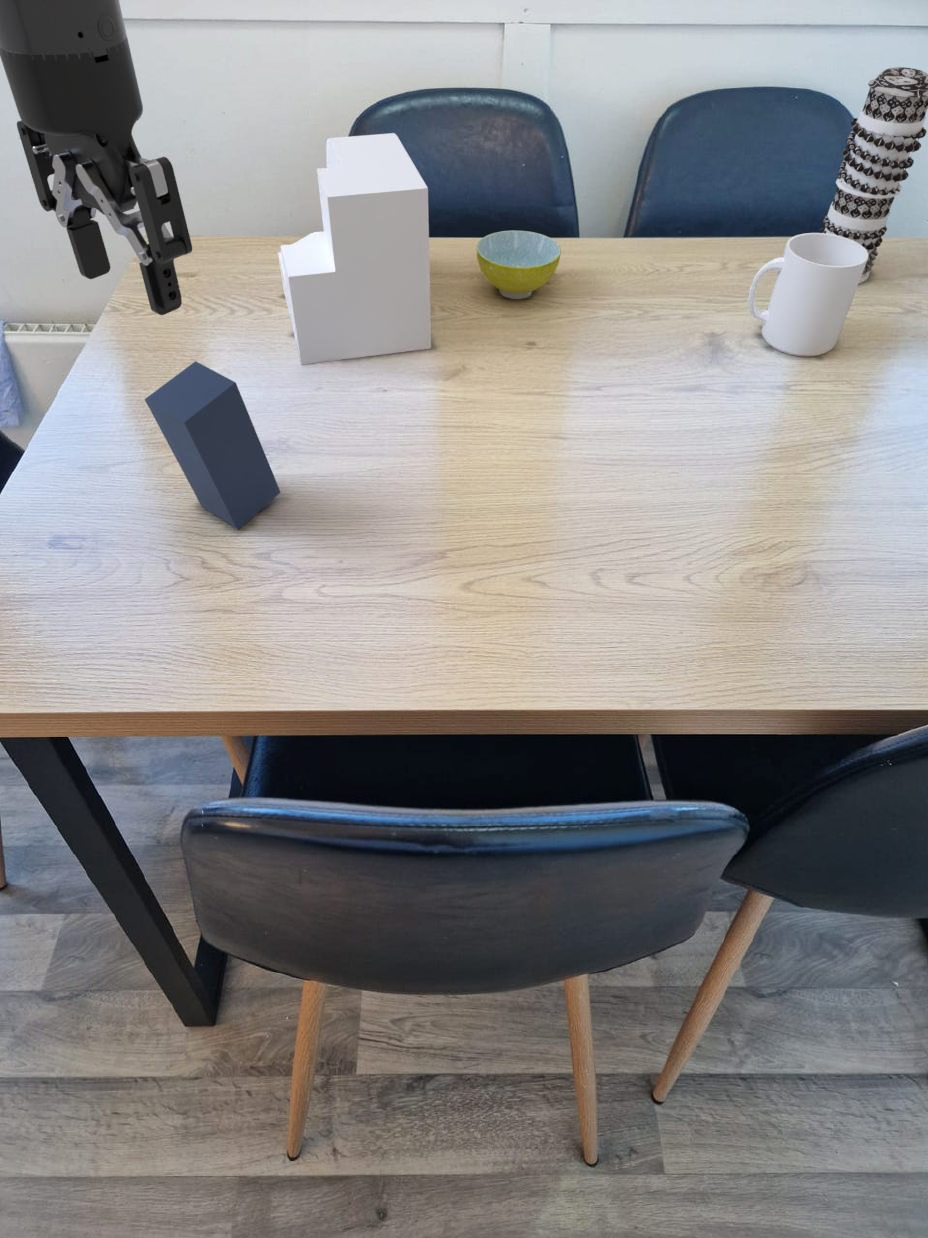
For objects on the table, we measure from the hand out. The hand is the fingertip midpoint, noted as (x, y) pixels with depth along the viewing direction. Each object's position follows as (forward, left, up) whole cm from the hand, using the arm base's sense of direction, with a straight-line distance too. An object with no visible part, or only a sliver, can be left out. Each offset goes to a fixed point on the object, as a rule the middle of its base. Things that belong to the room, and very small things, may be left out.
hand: (131, 292), depth 62 cm
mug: (+77, +13, -25) cm, 82 cm away
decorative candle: (+96, +27, -25) cm, 103 cm away
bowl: (+49, +37, -25) cm, 66 cm away
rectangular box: (+1, +2, -18) cm, 18 cm away
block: (+26, +40, -25) cm, 54 cm away
